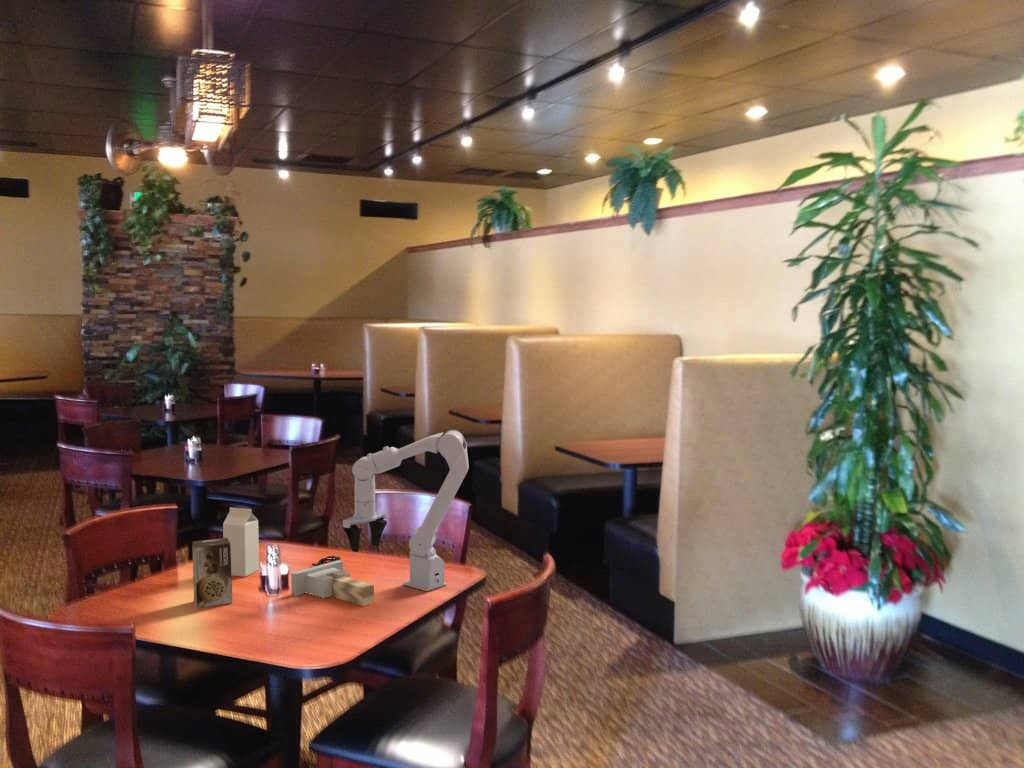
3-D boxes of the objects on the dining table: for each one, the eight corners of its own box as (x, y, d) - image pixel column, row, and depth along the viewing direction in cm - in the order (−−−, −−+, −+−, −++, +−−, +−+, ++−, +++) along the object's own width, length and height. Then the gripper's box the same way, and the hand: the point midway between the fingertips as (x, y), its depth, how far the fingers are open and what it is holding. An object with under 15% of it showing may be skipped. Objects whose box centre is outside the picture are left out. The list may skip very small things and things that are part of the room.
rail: (373, 603, 229) (373, 584, 229) (363, 607, 227) (363, 588, 226) (336, 591, 239) (336, 573, 238) (326, 595, 236) (326, 576, 236)
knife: (306, 585, 245) (306, 580, 245) (285, 583, 247) (285, 578, 247) (346, 560, 270) (346, 556, 270) (326, 559, 271) (326, 554, 271)
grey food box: (229, 596, 234) (228, 537, 233) (232, 603, 228) (231, 542, 227) (193, 601, 230) (191, 540, 229) (195, 608, 224) (194, 546, 223)
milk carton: (245, 577, 251) (244, 511, 249) (223, 575, 253) (222, 510, 251) (259, 570, 258) (258, 506, 256) (238, 568, 260) (236, 505, 258)
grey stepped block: (359, 587, 242) (359, 566, 242) (312, 601, 230) (312, 579, 229) (338, 580, 248) (338, 560, 247) (291, 594, 236) (291, 572, 235)
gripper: (374, 494, 252) (374, 540, 253) (335, 502, 241) (335, 551, 242) (391, 497, 248) (391, 545, 249) (352, 506, 237) (353, 555, 238)
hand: (365, 548), depth 245 cm, fingers open, 7 cm apart
